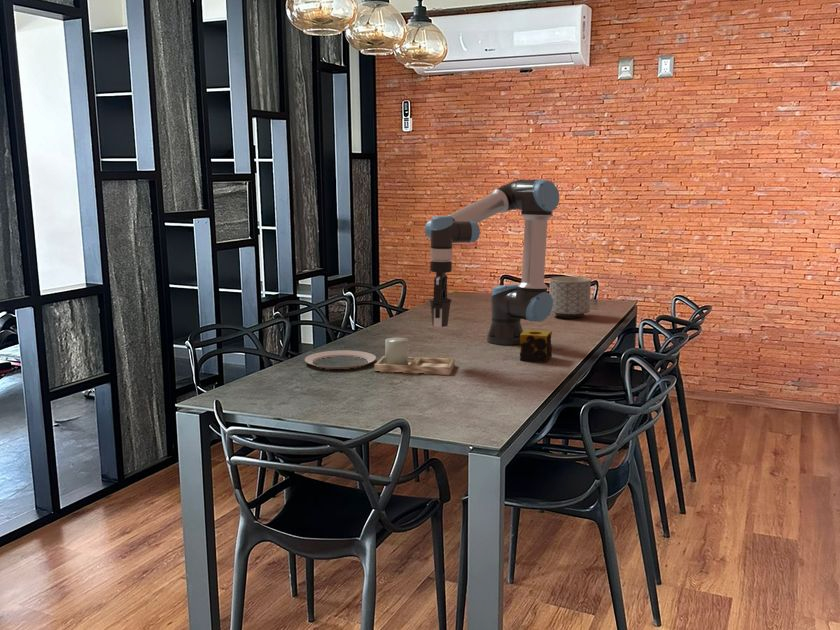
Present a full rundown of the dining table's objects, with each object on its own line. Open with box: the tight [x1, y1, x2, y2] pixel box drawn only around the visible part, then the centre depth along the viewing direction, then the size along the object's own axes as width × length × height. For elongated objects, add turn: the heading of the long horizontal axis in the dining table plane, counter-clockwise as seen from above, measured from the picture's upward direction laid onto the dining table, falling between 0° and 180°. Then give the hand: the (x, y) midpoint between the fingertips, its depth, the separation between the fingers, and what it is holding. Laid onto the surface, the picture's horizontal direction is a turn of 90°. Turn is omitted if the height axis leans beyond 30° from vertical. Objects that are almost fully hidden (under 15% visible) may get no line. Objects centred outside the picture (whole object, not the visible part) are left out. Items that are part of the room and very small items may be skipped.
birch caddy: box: [373, 355, 456, 376], centre depth 271 cm, size 26×13×2 cm, turn 80°
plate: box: [304, 349, 377, 370], centre depth 280 cm, size 26×26×2 cm
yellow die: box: [519, 329, 553, 363], centre depth 284 cm, size 10×10×10 cm
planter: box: [549, 276, 592, 319], centre depth 369 cm, size 19×19×18 cm
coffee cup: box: [428, 297, 452, 328], centre depth 274 cm, size 8×8×10 cm
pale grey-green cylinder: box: [384, 337, 409, 365], centre depth 271 cm, size 8×8×9 cm
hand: (439, 324), depth 275 cm, fingers closed on coffee cup, 8 cm apart
